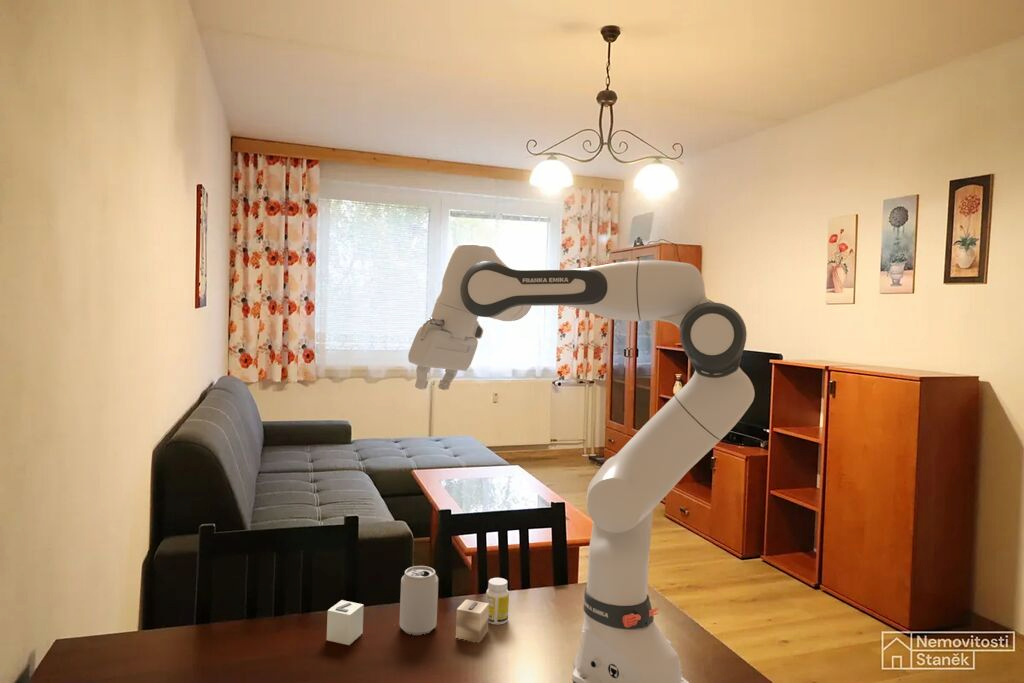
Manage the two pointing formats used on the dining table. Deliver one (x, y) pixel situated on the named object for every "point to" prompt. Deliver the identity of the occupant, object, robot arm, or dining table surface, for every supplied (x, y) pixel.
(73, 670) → the dining table surface
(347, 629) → the cream white block seven
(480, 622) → the birch block one
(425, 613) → the can
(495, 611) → the supplement bottle
